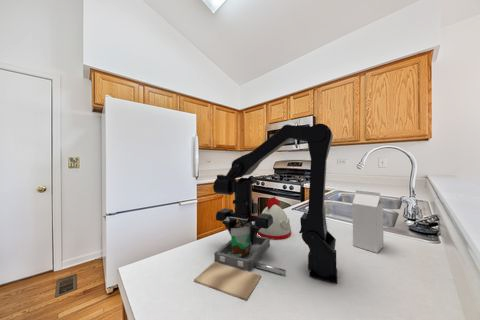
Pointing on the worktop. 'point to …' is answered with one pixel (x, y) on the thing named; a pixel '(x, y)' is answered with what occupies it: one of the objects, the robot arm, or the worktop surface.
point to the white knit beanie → (276, 222)
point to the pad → (229, 280)
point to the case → (242, 263)
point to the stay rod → (269, 268)
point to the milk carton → (368, 221)
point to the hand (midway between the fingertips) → (243, 243)
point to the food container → (241, 239)
